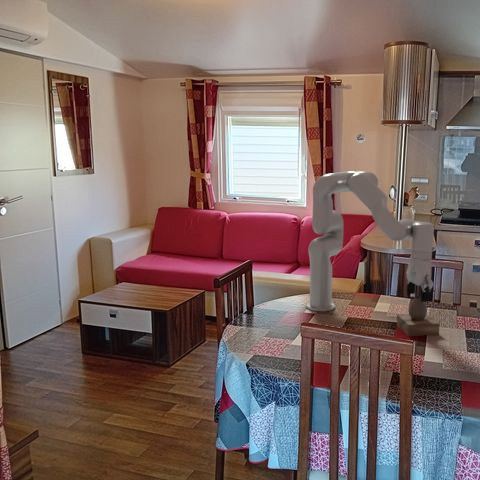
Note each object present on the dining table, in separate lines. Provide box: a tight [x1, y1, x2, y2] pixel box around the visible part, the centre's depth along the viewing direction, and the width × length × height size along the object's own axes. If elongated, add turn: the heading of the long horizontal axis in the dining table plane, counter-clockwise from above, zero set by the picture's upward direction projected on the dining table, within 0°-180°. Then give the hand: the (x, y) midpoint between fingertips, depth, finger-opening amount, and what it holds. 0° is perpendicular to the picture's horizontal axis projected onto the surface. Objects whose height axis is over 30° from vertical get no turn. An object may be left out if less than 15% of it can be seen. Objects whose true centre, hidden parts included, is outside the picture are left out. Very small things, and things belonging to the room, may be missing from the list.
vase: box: [408, 296, 428, 320], centre depth 210 cm, size 7×7×9 cm
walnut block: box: [396, 313, 440, 337], centre depth 212 cm, size 12×12×5 cm
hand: (417, 297), depth 210 cm, fingers open, 9 cm apart
